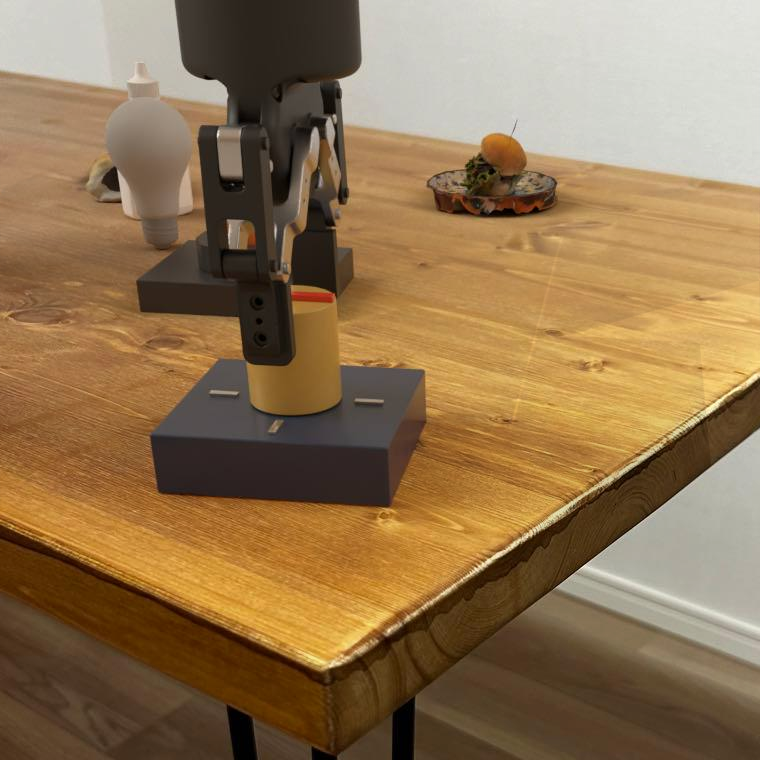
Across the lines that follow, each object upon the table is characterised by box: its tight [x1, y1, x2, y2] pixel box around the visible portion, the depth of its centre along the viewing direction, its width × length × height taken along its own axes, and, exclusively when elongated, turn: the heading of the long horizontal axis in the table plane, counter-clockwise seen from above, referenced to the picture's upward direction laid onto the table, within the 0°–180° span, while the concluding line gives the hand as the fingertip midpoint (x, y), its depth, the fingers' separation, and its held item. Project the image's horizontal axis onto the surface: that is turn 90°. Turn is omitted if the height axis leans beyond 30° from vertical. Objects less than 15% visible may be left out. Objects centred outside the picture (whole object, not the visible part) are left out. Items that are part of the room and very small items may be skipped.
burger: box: [425, 118, 559, 215], centre depth 106 cm, size 12×12×8 cm
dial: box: [246, 285, 342, 415], centre depth 57 cm, size 4×4×5 cm
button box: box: [135, 230, 355, 318], centre depth 81 cm, size 12×10×4 cm
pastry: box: [85, 153, 122, 203], centre depth 106 cm, size 9×7×4 cm
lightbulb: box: [104, 97, 194, 250], centre depth 89 cm, size 6×6×11 cm
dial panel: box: [149, 357, 427, 508], centre depth 59 cm, size 11×10×3 cm
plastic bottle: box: [117, 61, 194, 221], centre depth 97 cm, size 4×6×12 cm
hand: (295, 331), depth 57 cm, fingers open, 8 cm apart
